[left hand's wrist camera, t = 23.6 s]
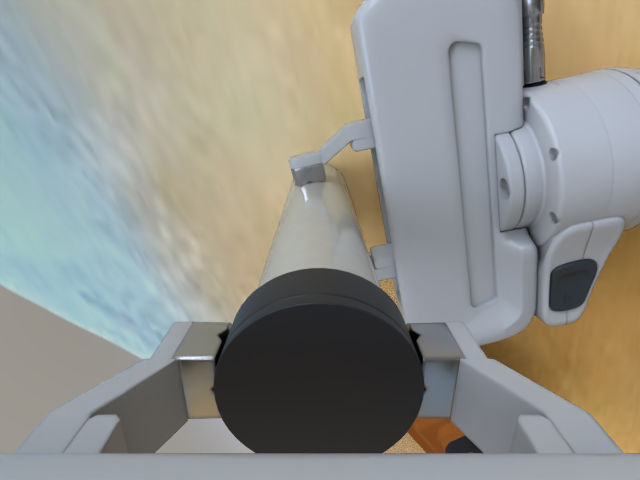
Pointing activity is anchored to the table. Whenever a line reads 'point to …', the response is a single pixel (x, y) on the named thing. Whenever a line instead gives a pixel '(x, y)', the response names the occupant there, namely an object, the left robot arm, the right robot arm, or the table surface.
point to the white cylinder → (319, 231)
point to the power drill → (441, 437)
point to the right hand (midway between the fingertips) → (303, 217)
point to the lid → (319, 367)
